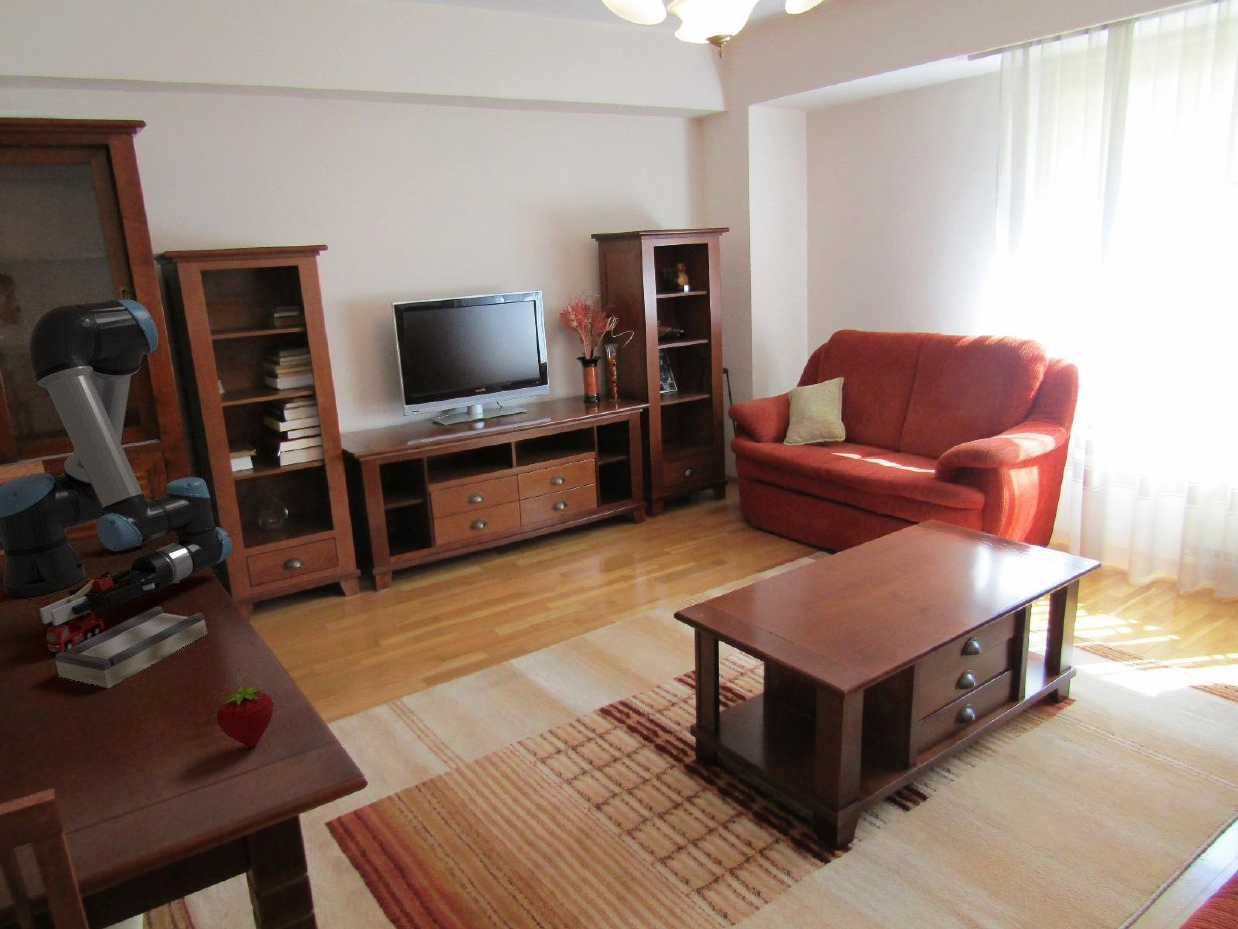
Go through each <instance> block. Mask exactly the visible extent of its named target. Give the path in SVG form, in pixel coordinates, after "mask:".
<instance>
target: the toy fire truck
mask: <svg viewBox="0 0 1238 929" xmlns="http://www.w3.org/2000/svg"><path fill="white" fill-rule="evenodd" d="M84 582H85V583H84V584H86V586H84V587H83V588H82V589H81V590H80V591H78V592H77V593H76V594H75V595H74V596H73V597H71V598H70V596H68V597H69V598H68V599H67V601H66V603H65V604H68V603H70V602H73V601H75V600H77V599H79V598H82V597H83V596H84V595H85V594H86V593H88V592H89V591H90V590H91V591H94V592H100V591H102V590H104V589H107V588H109V587H111V586H113V585H114V584H113V581H112V578H108V577H100V576H95V577H90V578H86V579H85V580H84ZM95 615H96V614H95V613H93V612H92V610H90V611H88V612H86V613H84V614H81V615H79V616H77V617H75V618H72V619H70V620H69V623H68V625H65V624H59V625H57V626H56V625H51V626H50V627H49V628H48V629H47V630H46V636H45V637H46V642H47V643H46V644H47V648H48V650H49V651H50V652H52V653H53V652H54V653H60V652H62V651H63V652H66V650H67V649H69V648H71V647H73V646H75V645H77V644H79V643H81V642H83V641H85V639H86V640H88V639H90V638H92V637H93V635H94V636H96V635H98V634H100V632H101V630H104V629H105V625H104V619H103V618H102V617H96V616H95Z"/></svg>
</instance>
